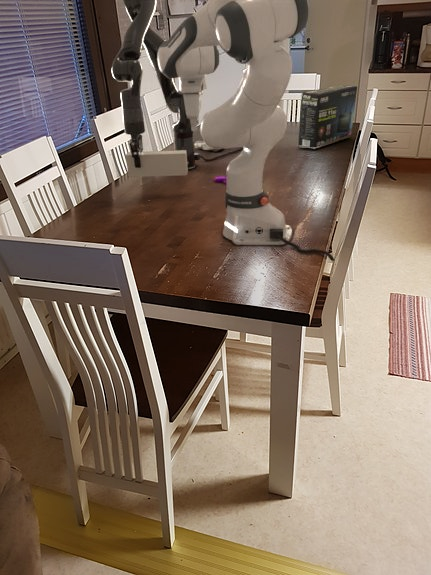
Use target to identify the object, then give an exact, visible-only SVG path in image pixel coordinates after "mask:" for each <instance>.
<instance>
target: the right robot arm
mask: <svg viewBox="0 0 431 575" xmlns="http://www.w3.org/2000/svg"><path fill="white" fill-rule="evenodd" d="M308 20H309V3H308V0H207V2H205V3H204V5H202V7H200V8H199V9H198V10H196V11H195V12H194V13H193V14H191V15H190V16H188V17H186V19H184V20H183V21H182V22H181V24H180V25H179V26H178V27H177V28H176V30H175V31H174V32H173V33H172V34H171V36H170V37H169V38H168V39H167V40H165V41H164V42H163V43H162V44H161V46H160V47H159V49H158V53H157V62H158V67H159V70H160V71H161V73H162V74H164V75H165V76H166V77H167V78H169V79H172V78H173V79H178V83H179V84H178V85H179V91H181V93H183V95H184V103H185V110H186V115H187V118H188V119H190V122H191V129H192V131H193V132H197V131H198V125H199V123H200V125H199V126H200V127H199V131H200V136H201V139H202V141H203V140H204V142H205V143H206V144H207V145H208V146H209V147H213V148H222V150H223V149H234V148H235V149H236V148H242V147H244V148H243V149H242V150H241V151H240V154H238V156H236V157H234V158H233V159H231V160H230V161H229V163H228V165H226V166H227V167H226V169H225V177H226V183H225V184H226V190H225V194H224V205H225V209H226V210H225V218H224V219H225V220H224V226H223V229H222V235H223V237H225V239H228V240H230V241H232V243H233V244H234V245H236V246H283V245H288V246H290V247H293V248H294V249H296V250H297V251H298V252H299V253H302V254H309V253H318V254H324V255H325V256H327V257H328V259H329V260H331V261H332V262H334V261H335V258H334V256H333V255H332V254H331V253H330V252H329V251H328V250H324V249H319V248H307V249H303V248H302V247H301V246H300V245H298V244H296V243H294V242H292V241H290V240H291V239H292V237H293V228H292V227H291V225H288V224H286V219H285V215H284V213H283V212H282V211H280V210H279V209H278V208H277V207H276V206H275V205H272V204H271V203H270V202H269V194H270V192H269V191H267V192H266V191H265V190H263V178H264V169H265V168H264V167H265V164H266V161H267V159H268V156H269V155H270V153H271V151H272V149H273V148H274V146H276V144H277V143H279V141H281V140H282V139H283V138H284V136H285V135H286V132H287V129H288V118H287V114H286V112H285V110H283V108H282V107H281V106H279V104H280V102H281V100H282V98H283V96H284V95H285V93H286V90H287V88H288V85H289V82H290V80H291V76H292V71H293V67H294V66H293V65H294V64H293V58H292V56H291V54H290V52H289V51H288V50H287V49H286V48H284V47H283V46H282V45H281V42H283V41H285V40H287V39H292V38H294V37H295V36H297V35H298V34H300V33H301V32H303V30H305V29H306V26H307V23H308ZM218 46H219V47H220V49H221V50H222V51H223V52H224V53H225V54H226V55H228V57H230V58H232V59H234V60H235V61H236V62H237V63H238V64H241V65H246V67H245V71H244V73H243V75H242V78H241V80H240V83H239V85H238V86H237V89H236V91H235V93H234V94H233V95H232V96H231V97H229V99H227V100H226V101H225V102H224V103H222V104H221V105H220V106H218V107H216V108H215V109H212V110H210V111H207V112H205V113H204V115H203V117H202V120H201V121H200V122H199V120H200V119H199V117H200V112H201V108H202V96H203V95H204V90H206V89H207V88H208V87H207V75H211V74H214V72H216V70H217V69H218V67H219V66H220V49H219V47H218Z"/></svg>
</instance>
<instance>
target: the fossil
mask: <svg viewBox="0 0 431 575" xmlns="http://www.w3.org/2000/svg"><path fill="white" fill-rule="evenodd" d="M194 148H195V149H197V150H204V151H213V152H215V153H217V152H219V151H220V150H223V148H213V147H209V146H208V145H207V144H206V143H205V142H204V140H203V139H202V140H197V141H194Z"/></svg>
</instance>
